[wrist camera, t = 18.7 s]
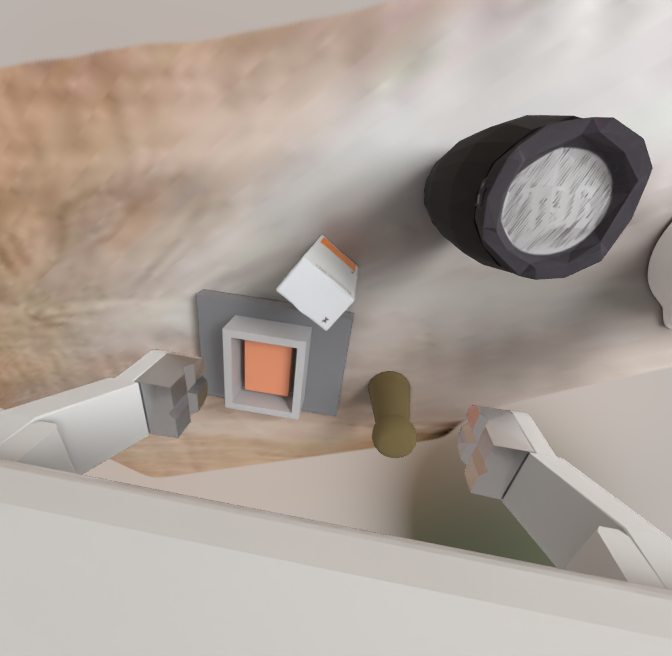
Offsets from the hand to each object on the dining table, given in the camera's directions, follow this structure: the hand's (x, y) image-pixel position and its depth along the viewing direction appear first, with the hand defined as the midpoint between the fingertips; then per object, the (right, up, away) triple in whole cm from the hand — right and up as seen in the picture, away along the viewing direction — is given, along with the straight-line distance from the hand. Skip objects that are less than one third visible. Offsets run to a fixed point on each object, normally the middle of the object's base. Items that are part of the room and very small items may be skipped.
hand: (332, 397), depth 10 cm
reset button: (-9, -2, +33) cm, 34 cm away
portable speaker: (+13, +17, +24) cm, 32 cm away
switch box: (-9, -1, +35) cm, 36 cm away
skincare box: (-1, +10, +28) cm, 30 cm away
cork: (+8, -7, +36) cm, 37 cm away
